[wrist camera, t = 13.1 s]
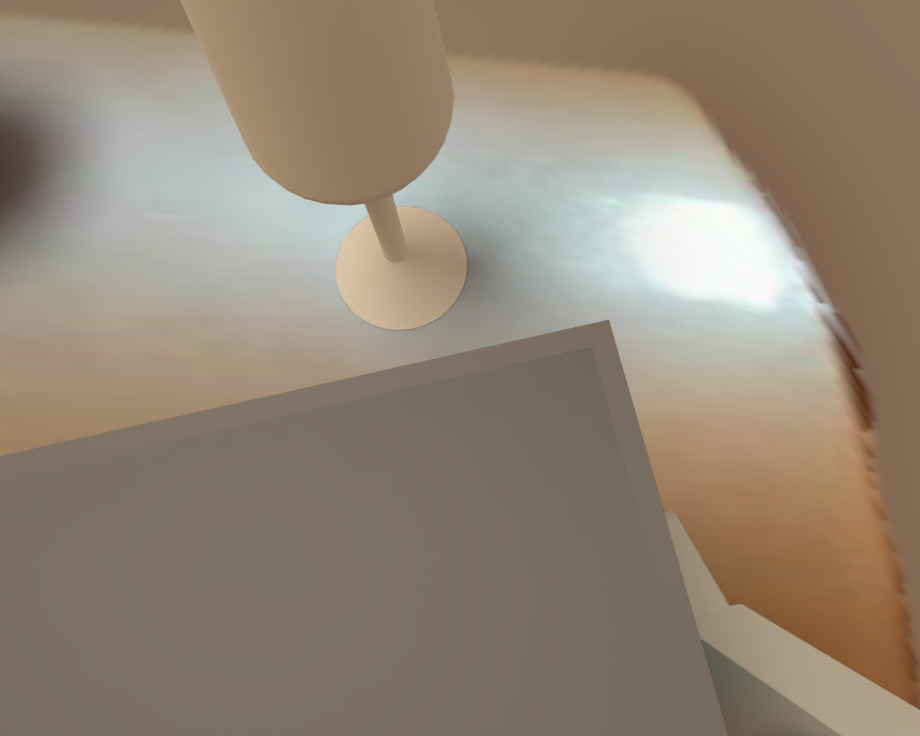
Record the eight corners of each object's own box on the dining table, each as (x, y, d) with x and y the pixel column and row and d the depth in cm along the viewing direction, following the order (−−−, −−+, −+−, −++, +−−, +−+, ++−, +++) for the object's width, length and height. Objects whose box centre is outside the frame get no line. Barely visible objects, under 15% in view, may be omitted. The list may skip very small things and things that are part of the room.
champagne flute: (346, 343, 32) (-21, -139, 9) (325, 221, 34) (-31, -451, 11) (480, 314, 32) (454, -238, 9) (453, 193, 34) (372, -534, 11)
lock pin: (578, 685, 15) (879, 1264, 3) (368, 732, 15) (-111, 1483, 3) (527, 473, 16) (609, 318, 4) (332, 517, 16) (-113, 481, 4)
